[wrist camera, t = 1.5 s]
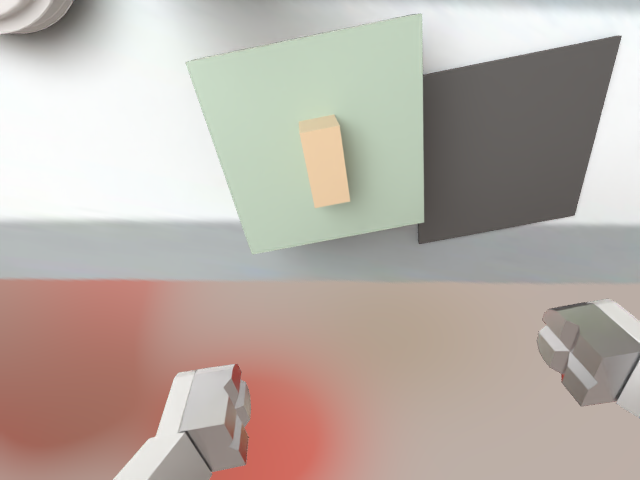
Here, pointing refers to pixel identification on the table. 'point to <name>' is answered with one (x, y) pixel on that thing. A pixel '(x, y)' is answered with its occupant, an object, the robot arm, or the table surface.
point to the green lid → (320, 132)
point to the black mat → (511, 138)
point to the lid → (30, 14)
